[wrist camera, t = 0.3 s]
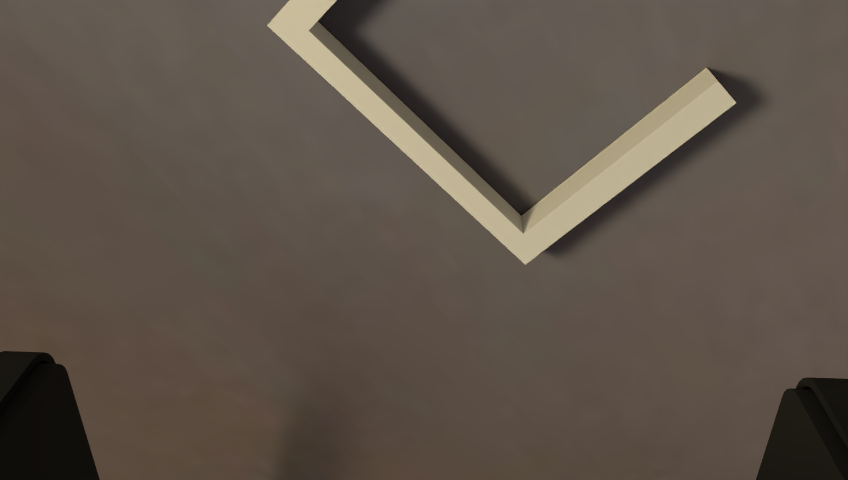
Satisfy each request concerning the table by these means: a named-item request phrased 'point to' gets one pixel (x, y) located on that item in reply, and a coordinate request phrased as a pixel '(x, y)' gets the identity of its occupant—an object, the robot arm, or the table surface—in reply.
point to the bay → (457, 178)
